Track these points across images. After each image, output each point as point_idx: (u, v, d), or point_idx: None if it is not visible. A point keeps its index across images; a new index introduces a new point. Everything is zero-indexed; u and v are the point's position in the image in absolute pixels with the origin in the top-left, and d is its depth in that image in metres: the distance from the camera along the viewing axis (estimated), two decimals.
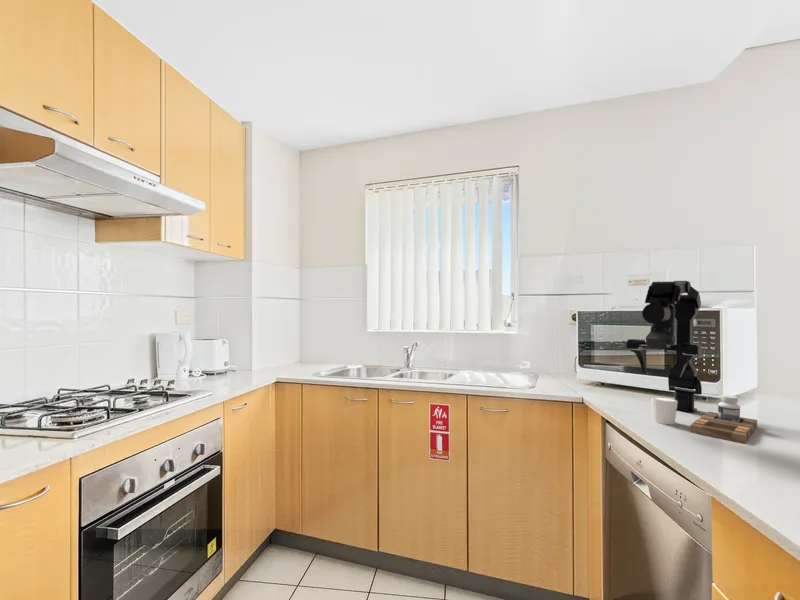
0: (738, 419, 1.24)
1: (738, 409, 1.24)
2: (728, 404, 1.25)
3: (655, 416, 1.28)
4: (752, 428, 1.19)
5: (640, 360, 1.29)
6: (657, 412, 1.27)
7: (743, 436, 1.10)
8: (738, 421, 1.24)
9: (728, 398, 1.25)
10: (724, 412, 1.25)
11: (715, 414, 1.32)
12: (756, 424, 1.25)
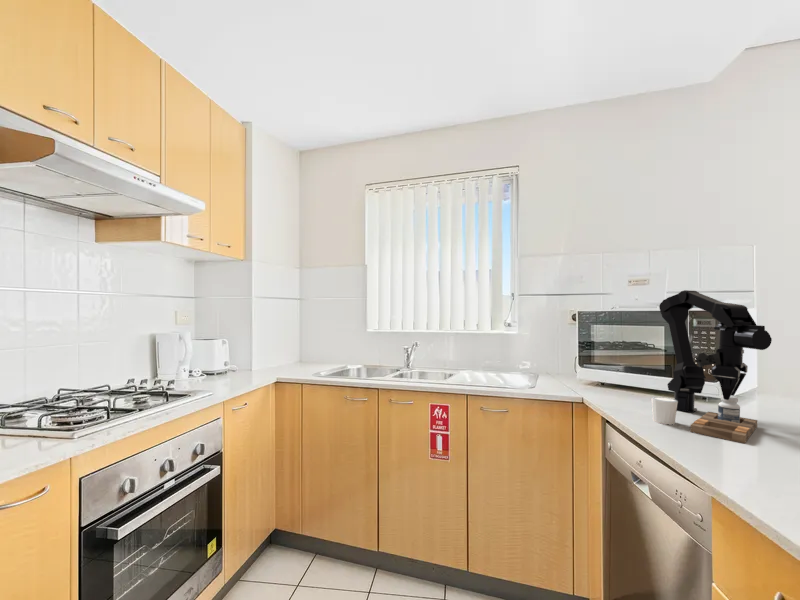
0: (738, 419, 1.24)
1: (738, 409, 1.24)
2: (728, 404, 1.25)
3: (655, 416, 1.28)
4: (752, 428, 1.19)
5: None
6: (657, 412, 1.27)
7: (743, 436, 1.10)
8: (738, 421, 1.24)
9: None
10: (724, 412, 1.25)
11: (715, 414, 1.32)
12: (756, 424, 1.25)
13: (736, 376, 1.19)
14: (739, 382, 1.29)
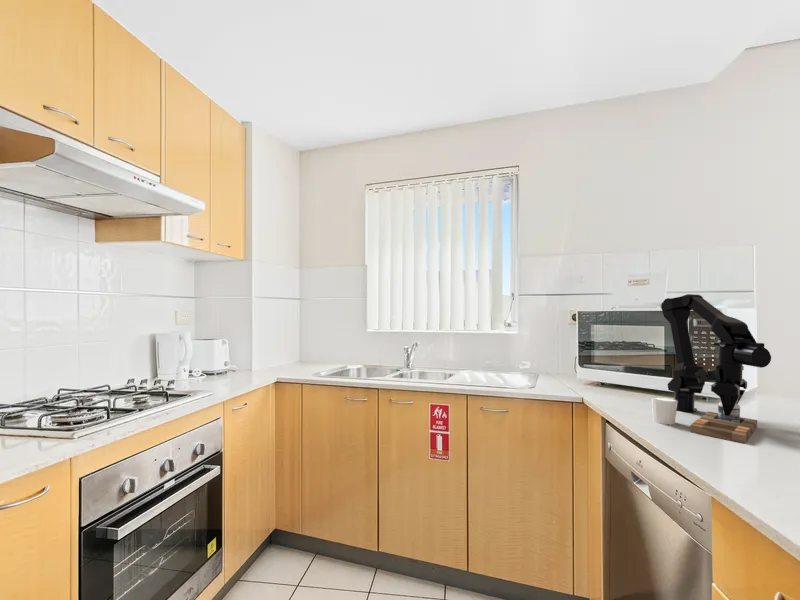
0: (738, 419, 1.24)
1: (738, 409, 1.24)
2: None
3: (655, 416, 1.28)
4: (752, 428, 1.19)
5: None
6: (657, 412, 1.27)
7: (743, 436, 1.10)
8: (738, 421, 1.24)
9: None
10: None
11: (715, 414, 1.32)
12: (756, 424, 1.25)
13: (736, 393, 1.18)
14: (738, 399, 1.27)
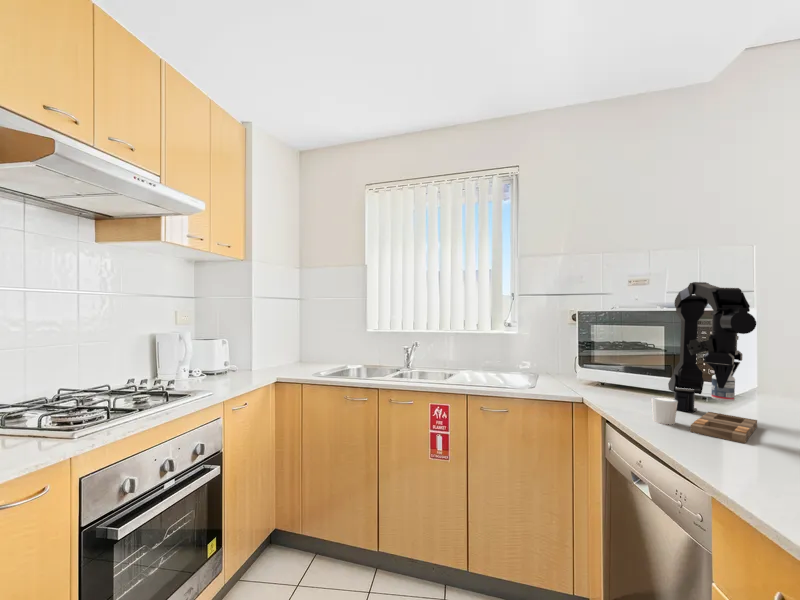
0: (733, 392, 1.16)
1: (733, 381, 1.16)
2: None
3: (655, 416, 1.28)
4: (752, 428, 1.19)
5: None
6: (657, 412, 1.27)
7: (743, 436, 1.10)
8: (733, 394, 1.16)
9: None
10: None
11: (715, 414, 1.32)
12: (756, 424, 1.25)
13: (730, 363, 1.10)
14: None
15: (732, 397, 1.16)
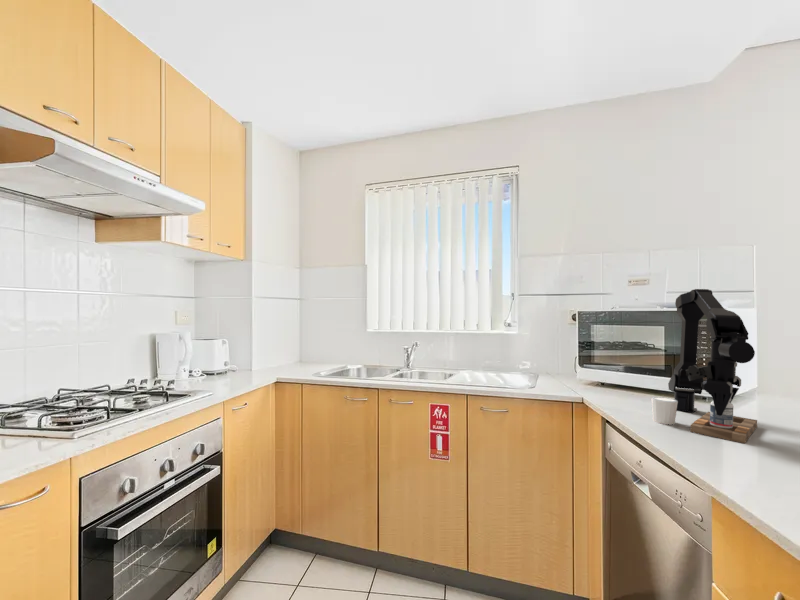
0: (731, 419, 1.16)
1: (731, 408, 1.16)
2: None
3: (655, 416, 1.28)
4: (752, 428, 1.19)
5: None
6: (657, 412, 1.27)
7: (743, 436, 1.10)
8: (731, 421, 1.16)
9: None
10: None
11: None
12: (756, 424, 1.25)
13: (728, 392, 1.10)
14: (731, 398, 1.19)
15: (730, 424, 1.16)
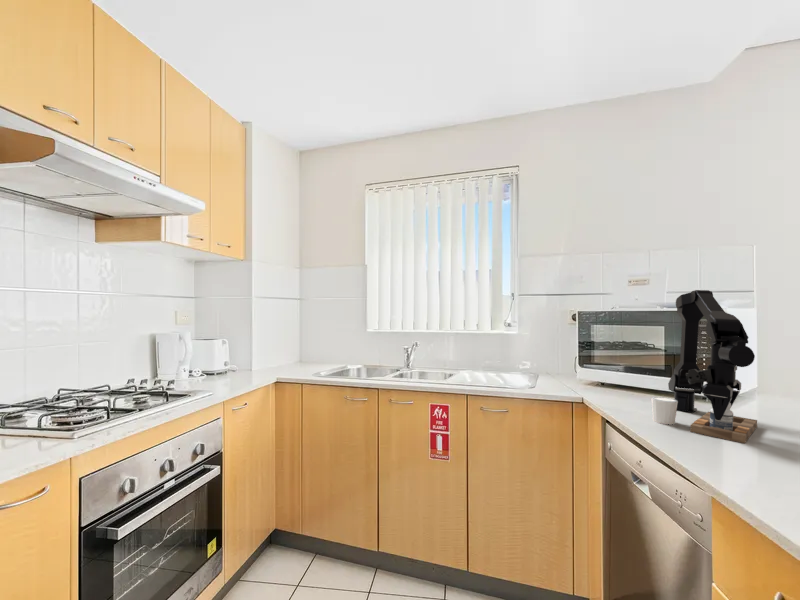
0: (731, 426, 1.16)
1: (731, 416, 1.16)
2: None
3: (655, 416, 1.28)
4: (752, 428, 1.19)
5: None
6: (657, 412, 1.27)
7: (743, 436, 1.10)
8: (731, 428, 1.16)
9: None
10: None
11: None
12: (756, 424, 1.25)
13: (728, 396, 1.10)
14: (732, 400, 1.20)
15: None
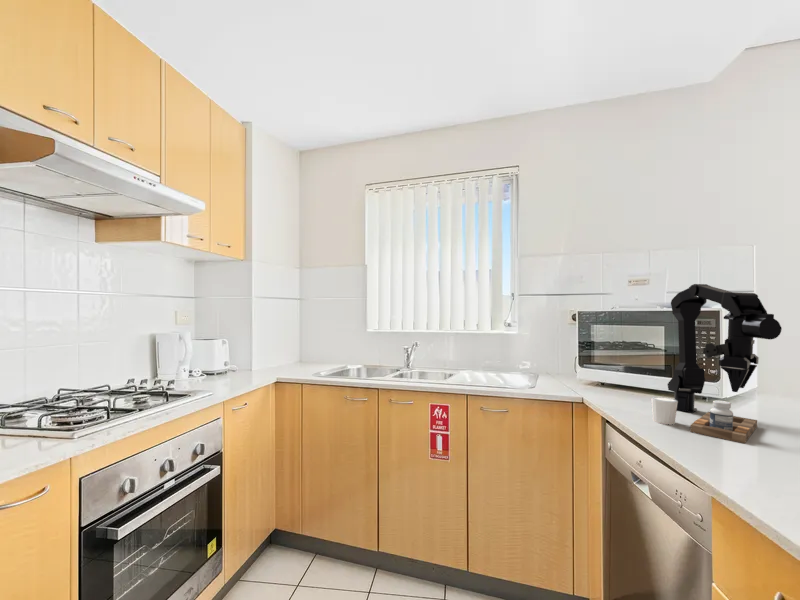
0: (731, 426, 1.16)
1: (731, 416, 1.16)
2: (720, 410, 1.17)
3: (655, 416, 1.28)
4: (752, 428, 1.19)
5: None
6: (657, 412, 1.27)
7: (743, 436, 1.10)
8: (731, 428, 1.16)
9: (720, 404, 1.17)
10: (716, 419, 1.17)
11: None
12: (756, 424, 1.25)
13: (745, 367, 1.13)
14: (749, 374, 1.23)
15: None
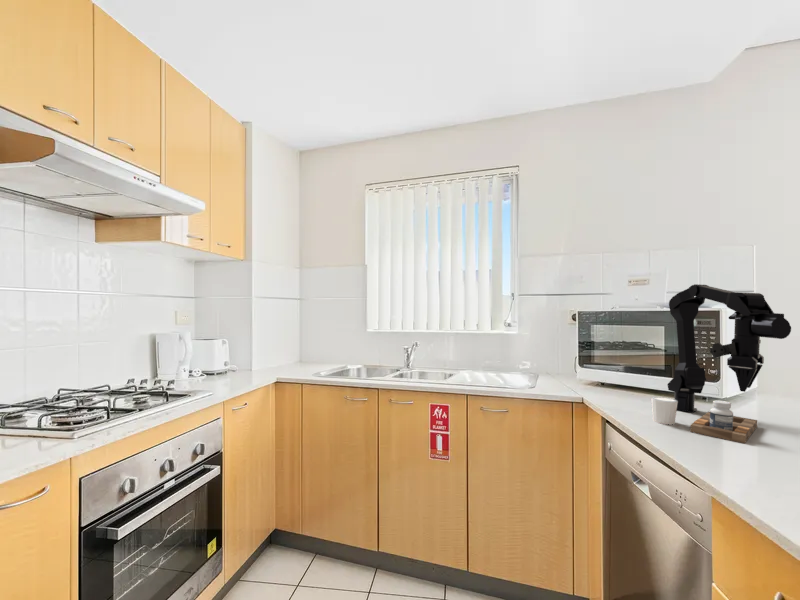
0: (731, 426, 1.16)
1: (731, 416, 1.16)
2: (720, 410, 1.17)
3: (655, 416, 1.28)
4: (752, 428, 1.19)
5: None
6: (657, 412, 1.27)
7: (743, 436, 1.10)
8: (731, 428, 1.16)
9: (720, 404, 1.17)
10: (716, 419, 1.17)
11: None
12: (756, 424, 1.25)
13: (754, 366, 1.13)
14: (755, 373, 1.24)
15: None
